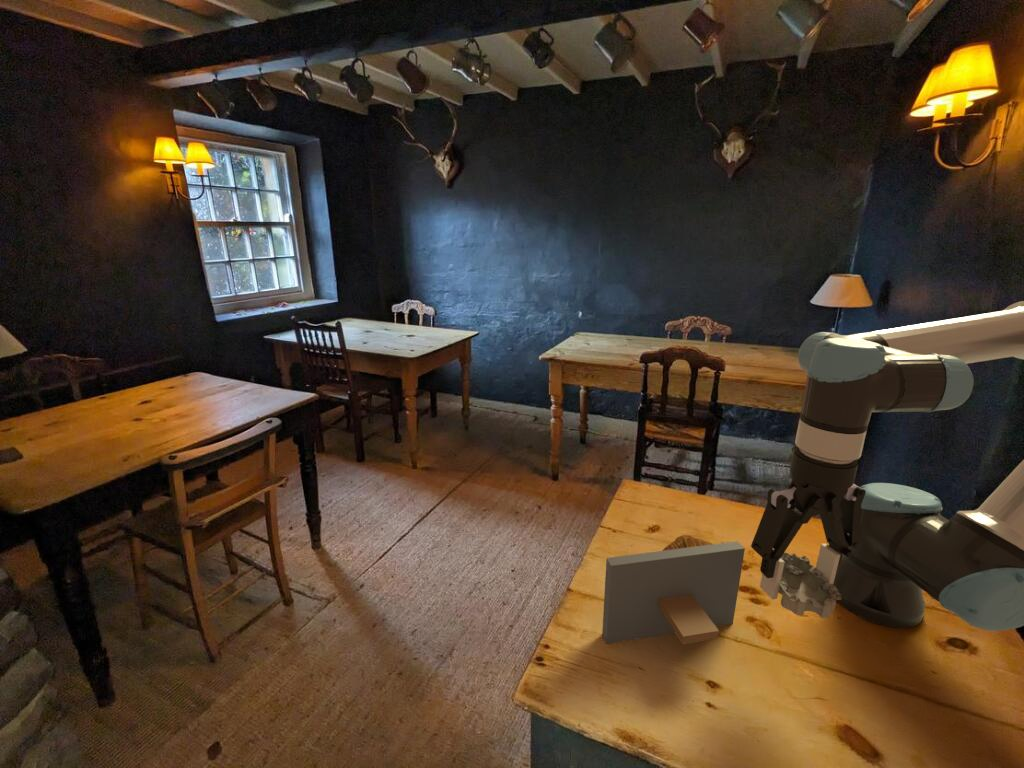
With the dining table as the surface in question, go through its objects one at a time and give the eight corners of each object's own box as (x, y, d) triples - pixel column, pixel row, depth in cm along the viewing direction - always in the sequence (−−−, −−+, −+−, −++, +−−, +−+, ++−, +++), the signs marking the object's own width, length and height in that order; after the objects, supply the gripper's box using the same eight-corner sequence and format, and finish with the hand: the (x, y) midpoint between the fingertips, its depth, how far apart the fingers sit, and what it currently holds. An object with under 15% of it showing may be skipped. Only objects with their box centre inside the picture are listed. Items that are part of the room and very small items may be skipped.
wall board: (726, 615, 85) (737, 541, 80) (763, 661, 75) (778, 580, 71) (602, 634, 81) (606, 557, 76) (624, 685, 72) (631, 602, 67)
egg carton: (840, 623, 64) (846, 598, 62) (780, 614, 65) (785, 590, 64) (808, 571, 74) (813, 549, 72) (758, 565, 75) (762, 543, 74)
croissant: (706, 543, 106) (708, 524, 104) (725, 562, 99) (727, 543, 98) (652, 551, 103) (653, 532, 102) (667, 571, 97) (669, 551, 95)
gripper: (867, 436, 68) (835, 564, 75) (738, 446, 65) (716, 580, 71) (918, 458, 61) (878, 598, 68) (775, 471, 58) (748, 617, 64)
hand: (795, 588), depth 69 cm, fingers closed on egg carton, 8 cm apart
